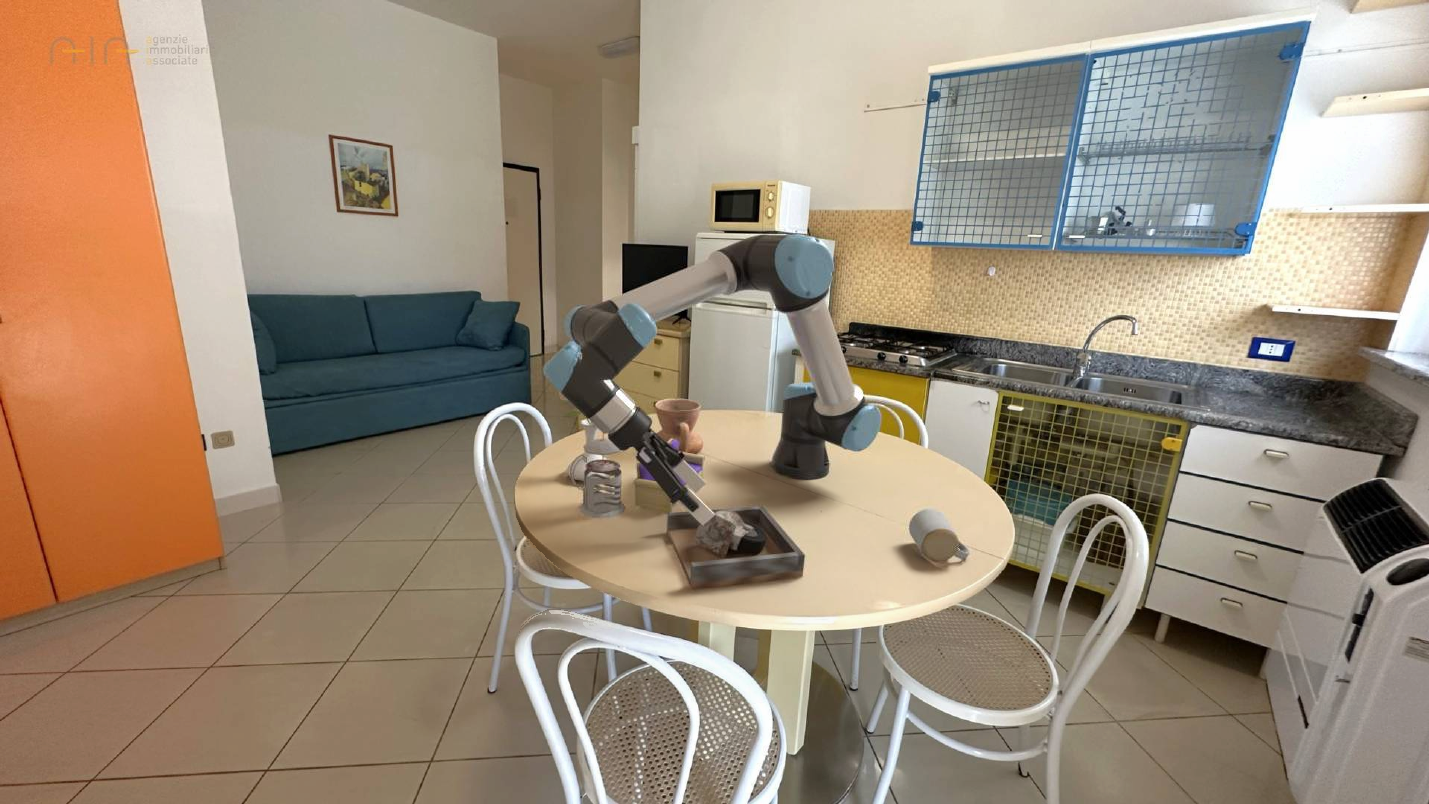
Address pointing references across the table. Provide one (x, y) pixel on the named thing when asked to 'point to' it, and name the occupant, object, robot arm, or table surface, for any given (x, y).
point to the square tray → (735, 552)
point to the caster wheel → (730, 534)
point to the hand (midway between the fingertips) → (704, 502)
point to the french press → (601, 482)
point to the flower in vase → (590, 436)
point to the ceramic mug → (936, 536)
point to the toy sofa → (649, 489)
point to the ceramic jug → (680, 423)
